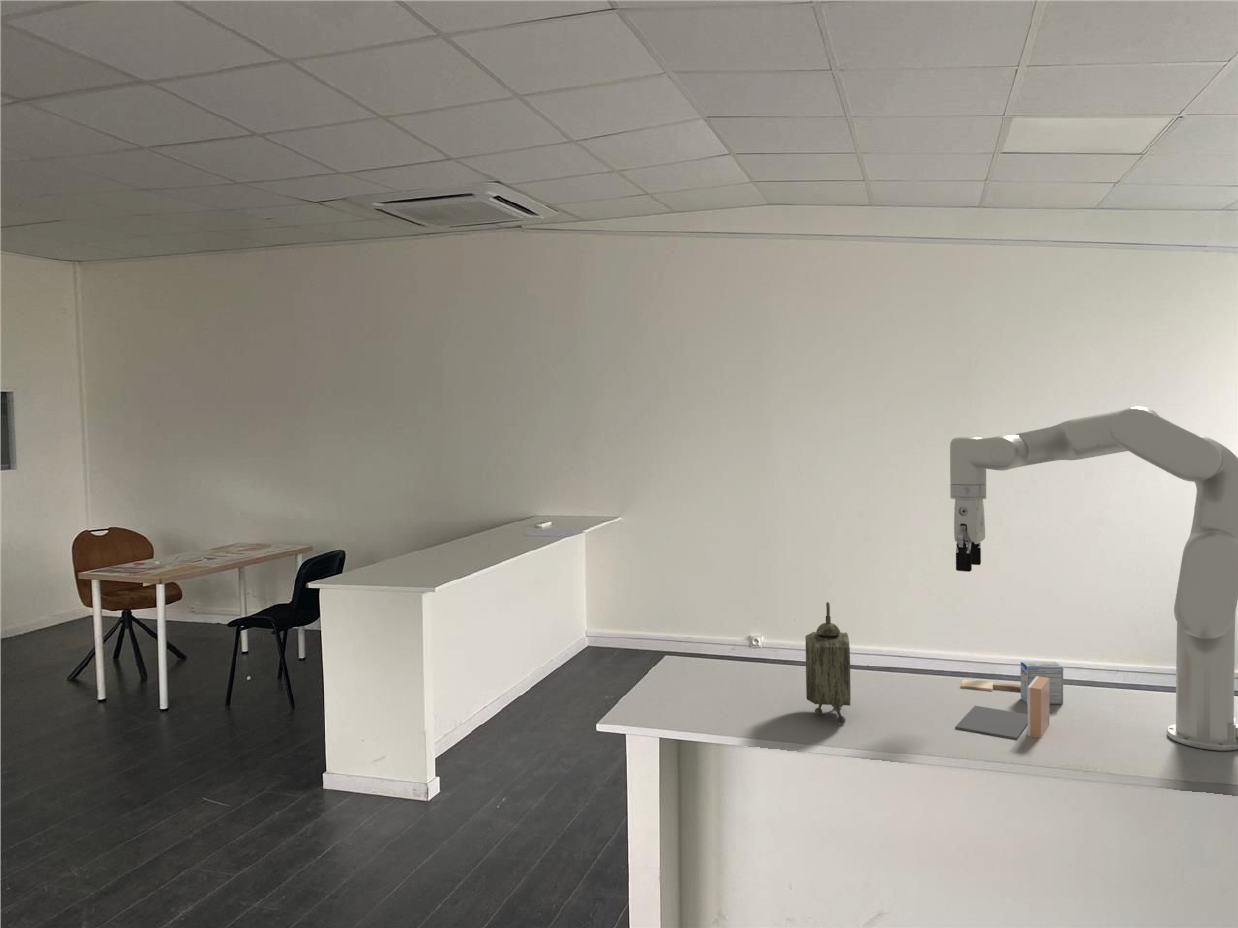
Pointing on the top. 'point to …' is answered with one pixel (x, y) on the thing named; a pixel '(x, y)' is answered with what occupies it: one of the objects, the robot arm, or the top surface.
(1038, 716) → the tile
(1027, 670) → the medicine box
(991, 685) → the beech turner
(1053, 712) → the top surface
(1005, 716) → the mat
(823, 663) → the tabletop clock
